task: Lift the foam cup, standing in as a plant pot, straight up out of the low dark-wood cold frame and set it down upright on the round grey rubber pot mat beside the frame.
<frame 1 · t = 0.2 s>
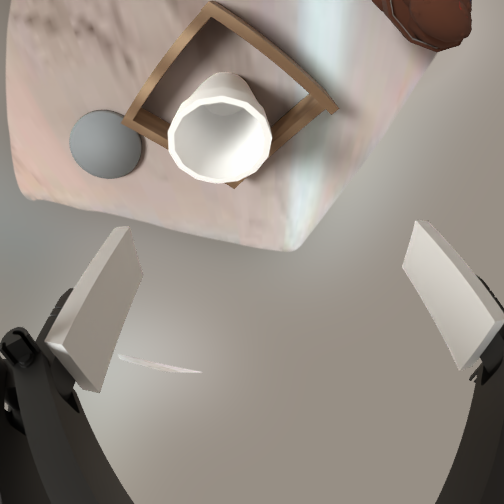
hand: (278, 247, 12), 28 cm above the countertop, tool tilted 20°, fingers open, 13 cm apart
rubber pot mat: (105, 144, 36), on the countertop
foam cup: (224, 93, 32), resting in cold frame
cold frame: (224, 94, 32), on the countertop
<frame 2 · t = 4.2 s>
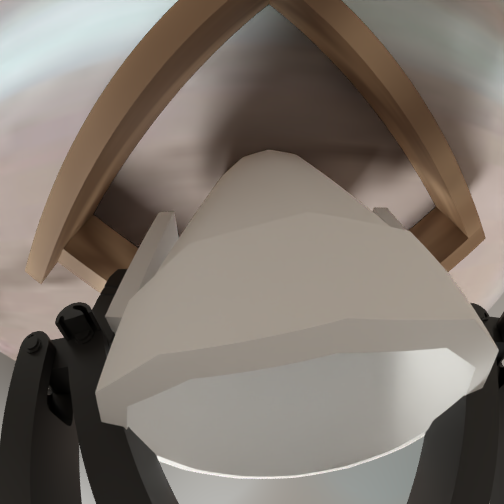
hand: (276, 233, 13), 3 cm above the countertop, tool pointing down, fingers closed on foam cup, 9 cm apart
foam cup: (271, 201, 16), resting in cold frame, touching gripper
cold frame: (271, 203, 16), on the countertop
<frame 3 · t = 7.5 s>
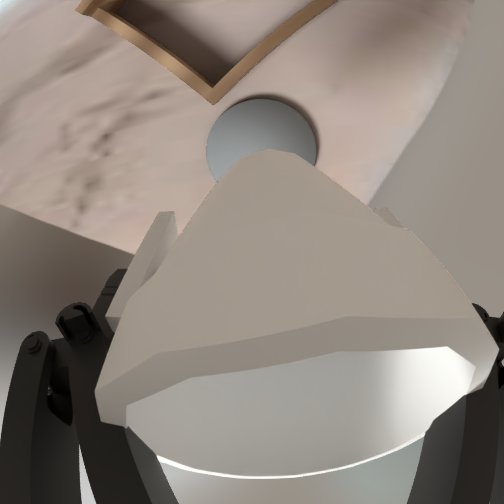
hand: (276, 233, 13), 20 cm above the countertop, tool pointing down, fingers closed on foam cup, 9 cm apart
rubber pot mat: (261, 151, 30), on the countertop
foam cup: (271, 201, 16), point 16 cm above the countertop, touching gripper
when the fingers open (5 cm above the countertop, at t = 10.6 s): foam cup drops 1 cm, resting on rubber pot mat.
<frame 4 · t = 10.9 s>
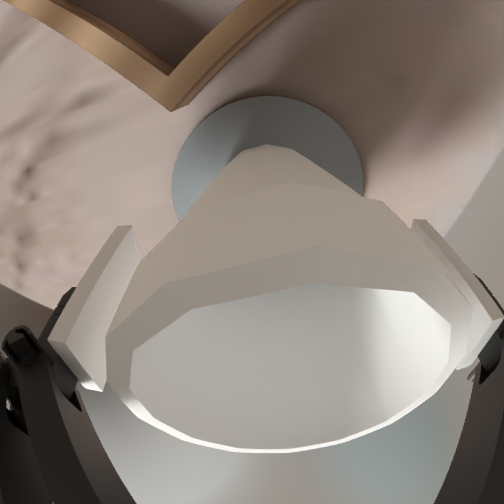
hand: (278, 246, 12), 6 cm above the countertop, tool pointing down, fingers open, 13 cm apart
rubber pot mat: (269, 190, 18), on the countertop
foam cup: (268, 193, 17), point 1 cm above the countertop, touching rubber pot mat
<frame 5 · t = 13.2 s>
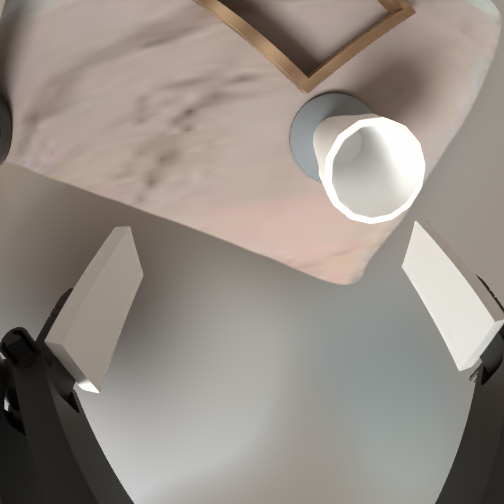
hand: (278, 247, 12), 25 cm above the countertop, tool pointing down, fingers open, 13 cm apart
rubber pot mat: (336, 139, 33), on the countertop
foam cup: (337, 140, 32), point 1 cm above the countertop, touching rubber pot mat
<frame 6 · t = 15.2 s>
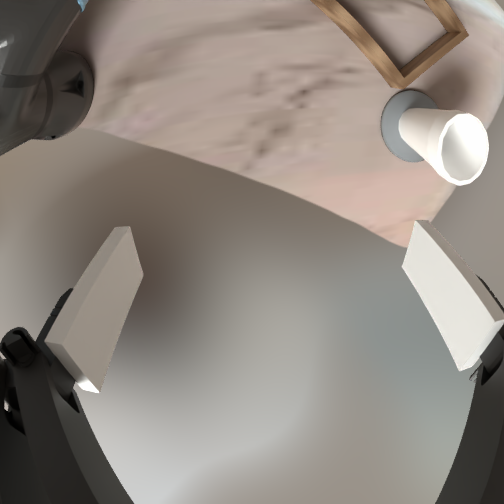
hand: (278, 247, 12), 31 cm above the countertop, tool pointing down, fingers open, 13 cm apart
rubber pot mat: (412, 126, 36), on the countertop
foam cup: (414, 126, 36), point 1 cm above the countertop, touching rubber pot mat
cold frame: (390, 12, 26), on the countertop
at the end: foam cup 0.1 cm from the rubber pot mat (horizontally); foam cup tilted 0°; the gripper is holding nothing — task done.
